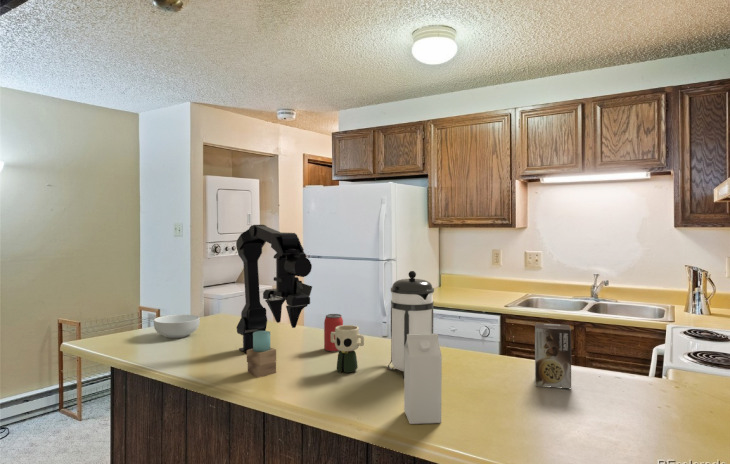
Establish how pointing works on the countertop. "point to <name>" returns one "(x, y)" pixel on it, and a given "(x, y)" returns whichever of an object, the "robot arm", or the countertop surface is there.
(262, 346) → the teal rounded cylinder
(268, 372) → the bottom slab
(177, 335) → the cereal bowl
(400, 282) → the coffee press
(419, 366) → the milk carton
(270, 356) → the stepped brown block
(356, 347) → the character mug
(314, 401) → the countertop surface
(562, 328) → the cookie box
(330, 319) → the beer can
